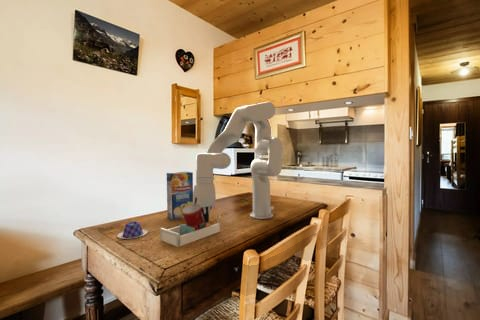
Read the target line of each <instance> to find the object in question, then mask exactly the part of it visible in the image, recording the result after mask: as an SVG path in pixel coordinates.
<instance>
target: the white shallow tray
mask: <svg viewBox="0 0 480 320" xmlns="http://www.w3.org/2000/svg"><path fill="white" fill-rule="evenodd" d="M183 224H184V223H183ZM184 225H186V223H185V224H184ZM220 227H221V226H220V223H218V222H217V223H214V224H212V225H209V226H207V227H205V228H202V229H199V230H196V231H193V232H190V233H187V234H184V235H180V225H178V226H177V225H176V226H174V227H170V228H165V227H160V241H162V242H165V243H167V244H170V245H172V246H174V247H177V248H179V247H182V246H185V245H188V244H190V243H193V242H195V241H197V240H198V241H199V240H200V239H203V238H207V237H209V236H211V235H214V234H217V233H219V232H221V231H220V229H221V228H220Z"/></svg>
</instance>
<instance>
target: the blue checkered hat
mask: <svg viewBox="0 0 480 320" xmlns="http://www.w3.org/2000/svg"><path fill="white" fill-rule="evenodd" d="M148 232H149V231H148V230H147V229H144V228H142V224H141V223H140V222H139V221H129V222H126V223H125V225H124V228H123V231H122V232H120V233H118V234H117V235H116V237H117V238H119V239H126V240H127V239H130V240H131V239H136V238H141V237H144V236H145V235H147V234H148ZM121 236H122V237H121Z"/></svg>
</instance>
